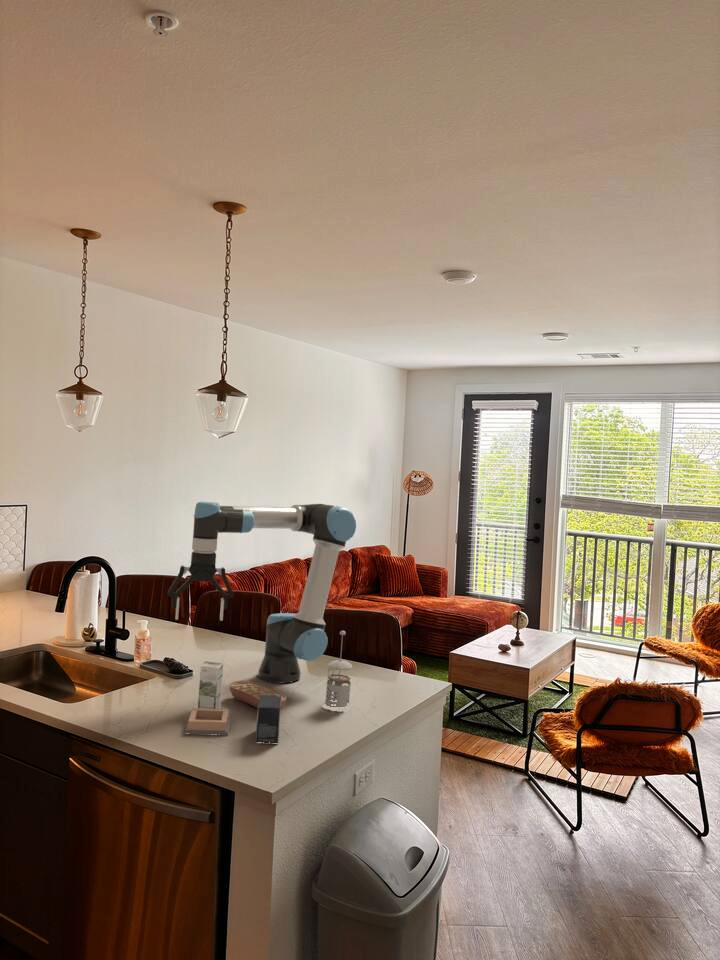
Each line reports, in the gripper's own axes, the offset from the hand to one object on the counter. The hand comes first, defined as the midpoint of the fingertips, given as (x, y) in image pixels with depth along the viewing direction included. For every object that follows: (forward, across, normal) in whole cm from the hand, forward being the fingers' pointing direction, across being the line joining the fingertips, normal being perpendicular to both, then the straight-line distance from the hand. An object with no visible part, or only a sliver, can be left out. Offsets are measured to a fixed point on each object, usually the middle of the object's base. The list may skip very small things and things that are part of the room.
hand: (199, 619), depth 225 cm
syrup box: (+27, -5, +5) cm, 28 cm away
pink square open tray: (+27, -4, +19) cm, 33 cm away
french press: (+27, -45, +3) cm, 53 cm away
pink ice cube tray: (+27, -20, +2) cm, 34 cm away
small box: (+27, -20, +28) cm, 43 cm away
